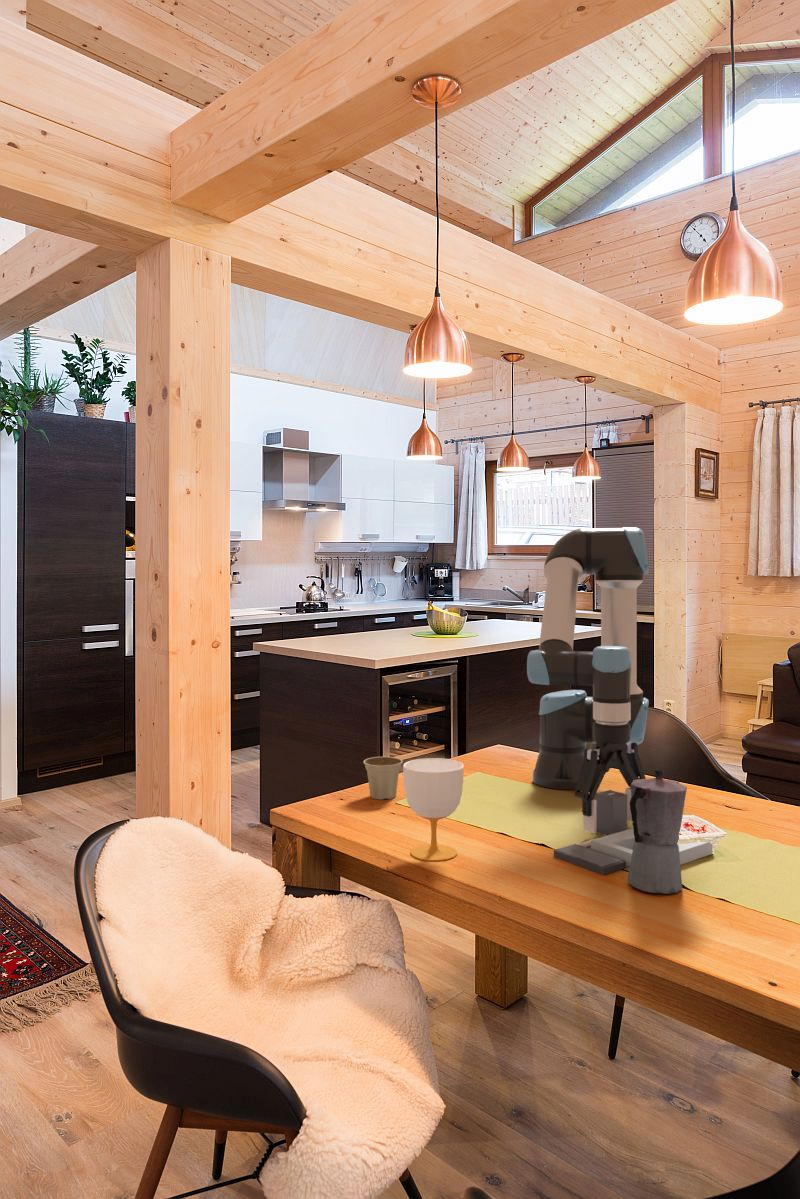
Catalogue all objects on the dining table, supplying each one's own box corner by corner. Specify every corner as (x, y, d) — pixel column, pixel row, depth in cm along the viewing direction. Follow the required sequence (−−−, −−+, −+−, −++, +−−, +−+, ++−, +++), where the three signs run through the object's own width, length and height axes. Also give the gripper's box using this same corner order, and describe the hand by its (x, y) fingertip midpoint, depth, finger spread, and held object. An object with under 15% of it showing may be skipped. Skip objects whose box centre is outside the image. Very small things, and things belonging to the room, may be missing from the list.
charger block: (609, 827, 172) (609, 789, 171) (627, 833, 168) (627, 794, 168) (595, 831, 169) (595, 793, 169) (612, 837, 165) (612, 797, 165)
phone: (575, 849, 158) (575, 843, 158) (625, 867, 148) (625, 860, 148) (553, 856, 154) (553, 849, 154) (603, 875, 145) (603, 867, 145)
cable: (612, 837, 165) (612, 832, 165) (616, 839, 164) (616, 834, 164) (575, 848, 159) (575, 843, 159) (579, 850, 158) (579, 845, 158)
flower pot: (399, 802, 192) (399, 766, 191) (360, 801, 193) (359, 764, 193) (405, 792, 201) (405, 757, 201) (367, 790, 202) (367, 756, 202)
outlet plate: (650, 835, 167) (650, 821, 166) (712, 853, 155) (712, 839, 155) (591, 853, 156) (591, 839, 156) (652, 874, 145) (652, 859, 145)
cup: (442, 868, 148) (441, 775, 148) (391, 855, 156) (390, 766, 155) (476, 850, 158) (475, 763, 157) (426, 839, 165) (426, 755, 164)
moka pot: (700, 881, 142) (701, 766, 141) (662, 908, 130) (662, 784, 129) (648, 868, 148) (648, 758, 147) (607, 893, 136) (607, 774, 136)
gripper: (634, 713, 178) (634, 811, 179) (556, 725, 164) (556, 832, 164) (664, 717, 172) (663, 819, 172) (584, 731, 158) (584, 841, 158)
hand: (611, 825), depth 168 cm, fingers open, 12 cm apart
